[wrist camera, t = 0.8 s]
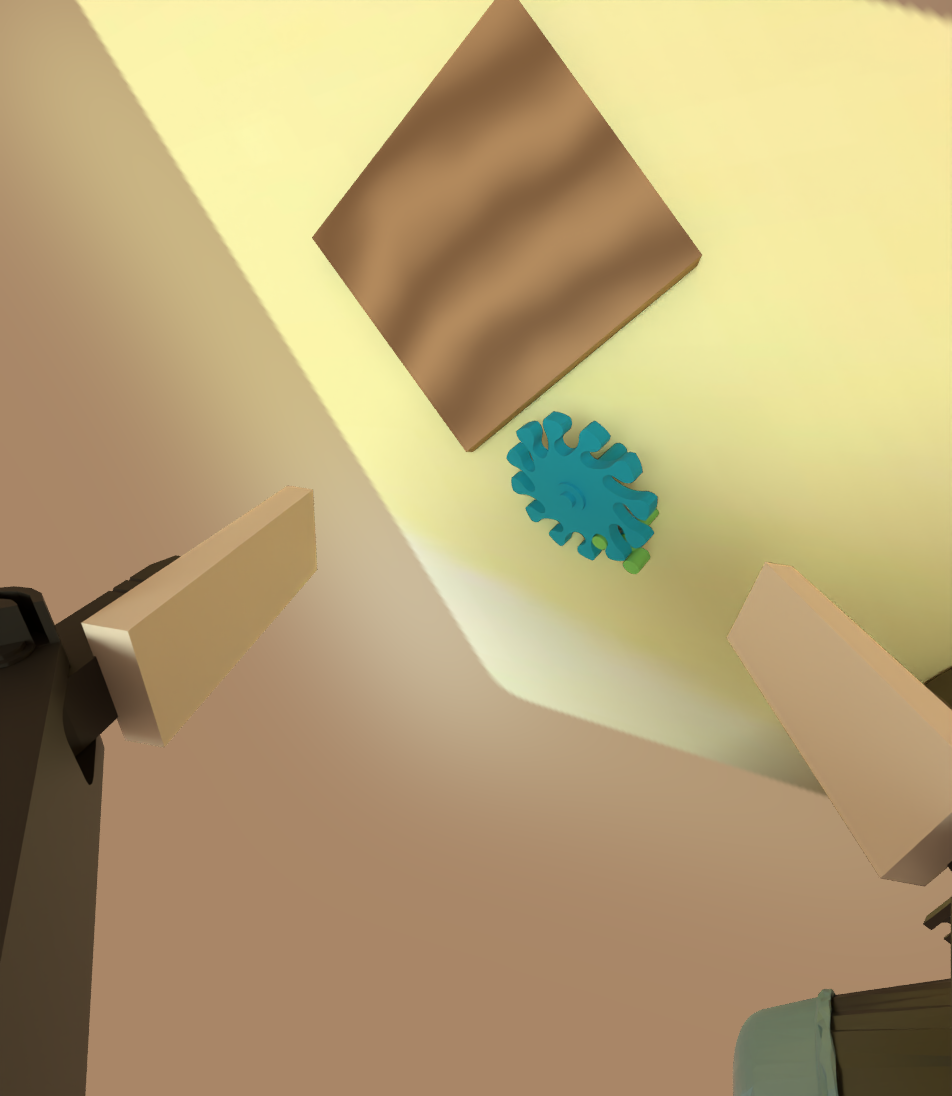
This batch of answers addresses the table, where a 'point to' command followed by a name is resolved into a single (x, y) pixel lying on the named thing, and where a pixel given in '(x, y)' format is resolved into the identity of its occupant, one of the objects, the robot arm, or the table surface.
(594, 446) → the gear
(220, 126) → the table surface
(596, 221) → the mount plate
